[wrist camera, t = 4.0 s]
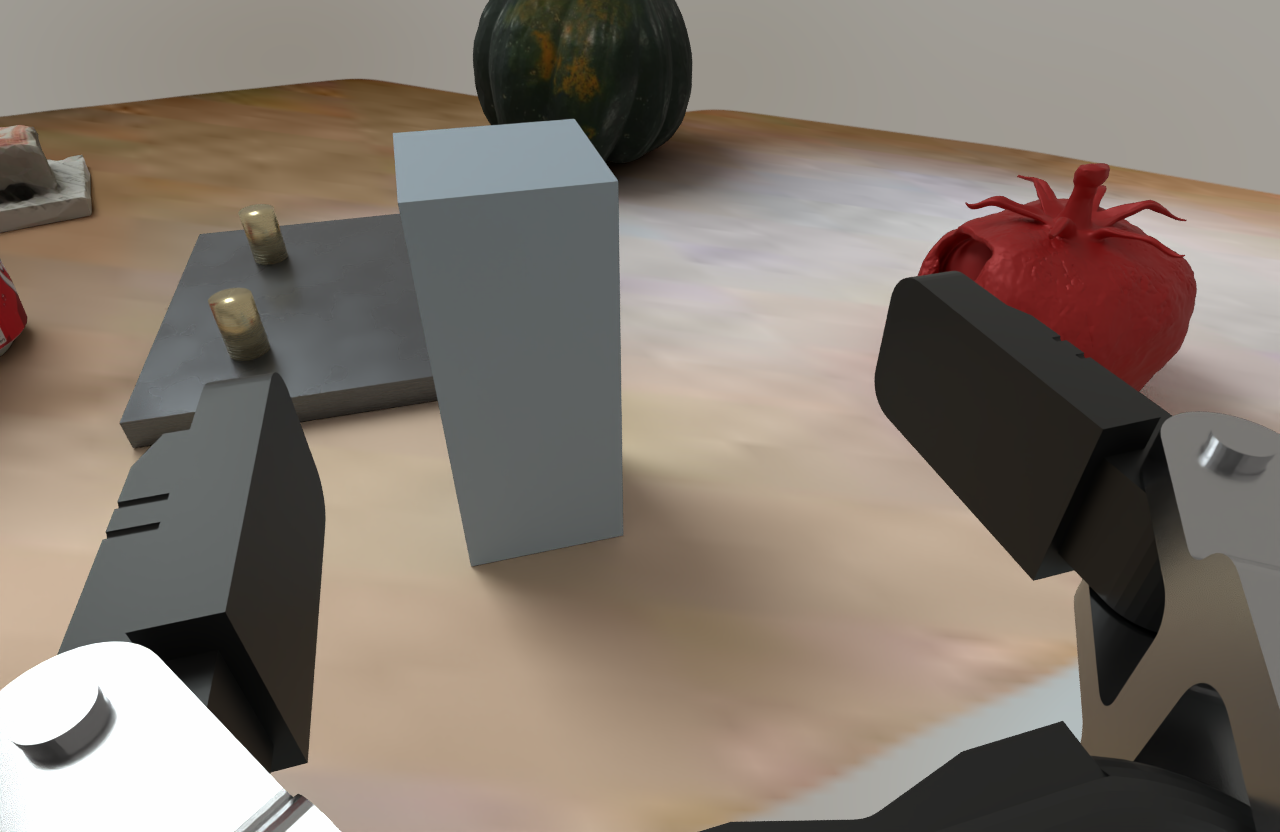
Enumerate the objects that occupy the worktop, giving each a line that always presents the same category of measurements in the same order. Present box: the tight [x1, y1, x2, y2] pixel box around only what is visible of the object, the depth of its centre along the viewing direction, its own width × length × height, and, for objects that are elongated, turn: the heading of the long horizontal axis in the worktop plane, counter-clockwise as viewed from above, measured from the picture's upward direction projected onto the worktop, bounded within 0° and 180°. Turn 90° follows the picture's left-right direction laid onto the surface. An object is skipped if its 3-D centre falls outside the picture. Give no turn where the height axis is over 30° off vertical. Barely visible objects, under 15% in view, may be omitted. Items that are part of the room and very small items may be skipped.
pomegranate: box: [918, 163, 1197, 392], centre depth 30 cm, size 10×10×9 cm
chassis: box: [120, 204, 438, 448], centre depth 36 cm, size 17×17×4 cm
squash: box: [473, 0, 692, 163], centre depth 50 cm, size 14×15×15 cm
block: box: [393, 119, 623, 566], centre depth 23 cm, size 5×5×12 cm
